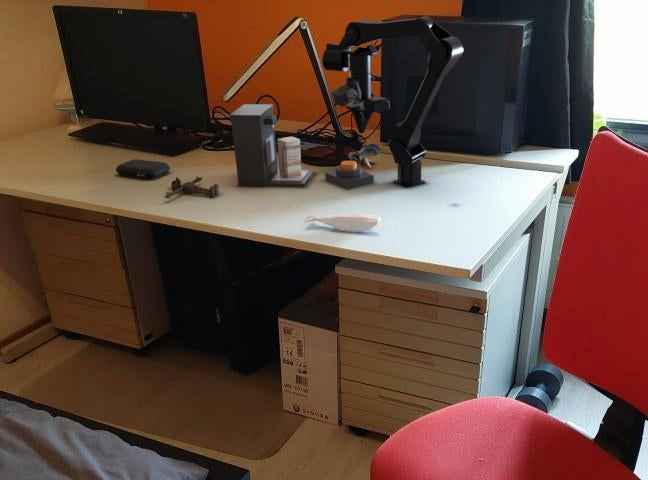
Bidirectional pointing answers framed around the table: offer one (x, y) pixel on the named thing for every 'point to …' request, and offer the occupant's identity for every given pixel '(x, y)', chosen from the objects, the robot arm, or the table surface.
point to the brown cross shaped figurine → (191, 188)
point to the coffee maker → (259, 149)
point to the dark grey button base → (349, 177)
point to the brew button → (348, 165)
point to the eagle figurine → (365, 154)
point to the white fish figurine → (347, 221)
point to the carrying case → (143, 169)
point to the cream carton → (289, 157)
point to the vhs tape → (308, 145)
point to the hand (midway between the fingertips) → (361, 133)
